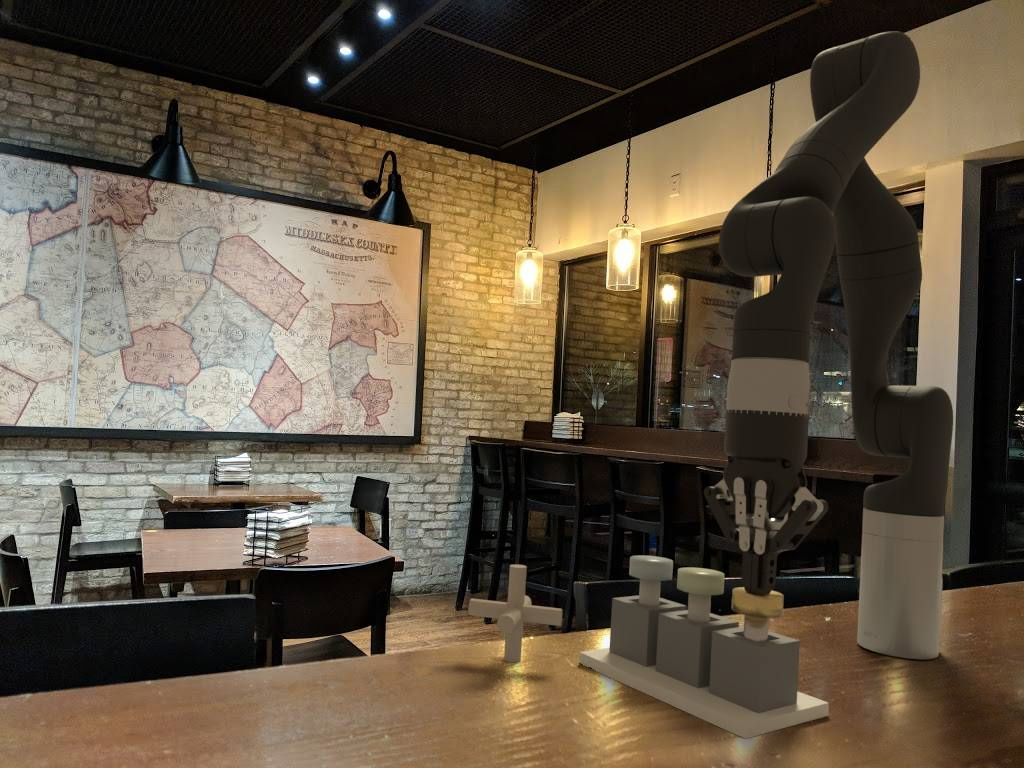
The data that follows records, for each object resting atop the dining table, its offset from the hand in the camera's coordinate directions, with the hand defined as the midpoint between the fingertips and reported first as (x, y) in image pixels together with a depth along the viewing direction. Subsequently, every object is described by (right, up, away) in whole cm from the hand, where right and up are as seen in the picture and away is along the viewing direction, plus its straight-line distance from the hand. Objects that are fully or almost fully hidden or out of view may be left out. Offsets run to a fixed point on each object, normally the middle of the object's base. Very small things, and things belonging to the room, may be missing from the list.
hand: (757, 592), depth 75 cm
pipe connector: (-23, -10, +11) cm, 27 cm away
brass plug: (-1, -8, 0) cm, 8 cm away
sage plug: (-5, -8, +5) cm, 10 cm away
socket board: (-5, -11, +5) cm, 13 cm away
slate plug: (-9, -8, +11) cm, 16 cm away
